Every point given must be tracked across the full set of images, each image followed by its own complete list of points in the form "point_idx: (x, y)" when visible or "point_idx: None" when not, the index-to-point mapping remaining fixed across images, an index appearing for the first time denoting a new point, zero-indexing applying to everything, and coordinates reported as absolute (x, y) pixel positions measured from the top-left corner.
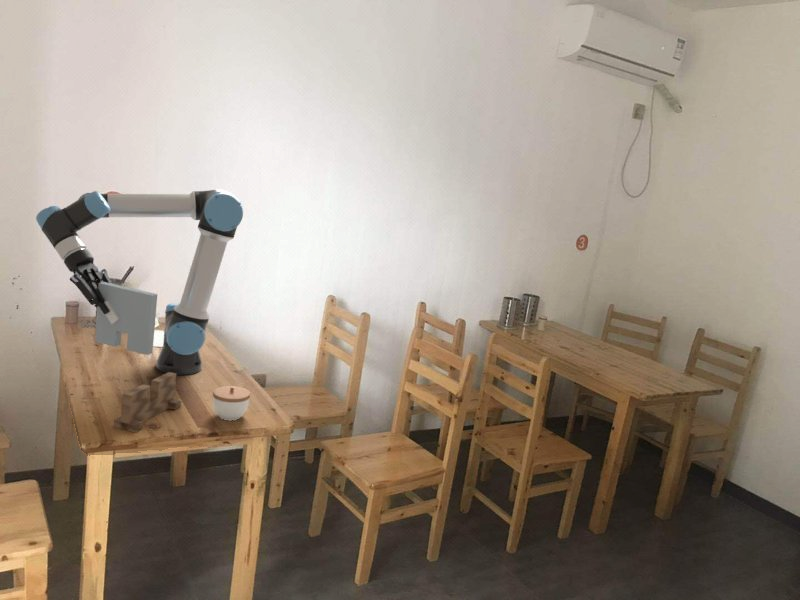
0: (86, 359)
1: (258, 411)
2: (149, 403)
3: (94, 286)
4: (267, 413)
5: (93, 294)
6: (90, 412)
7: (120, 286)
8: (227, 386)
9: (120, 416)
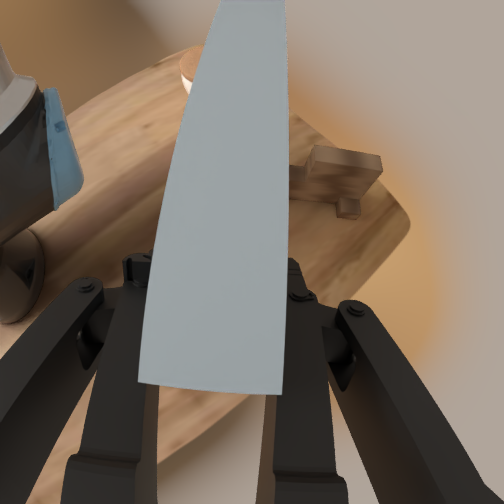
0: (59, 476)
1: (172, 74)
2: (303, 167)
3: (319, 413)
4: (175, 65)
5: (378, 342)
6: (327, 291)
7: (220, 107)
8: (189, 71)
9: (342, 211)
